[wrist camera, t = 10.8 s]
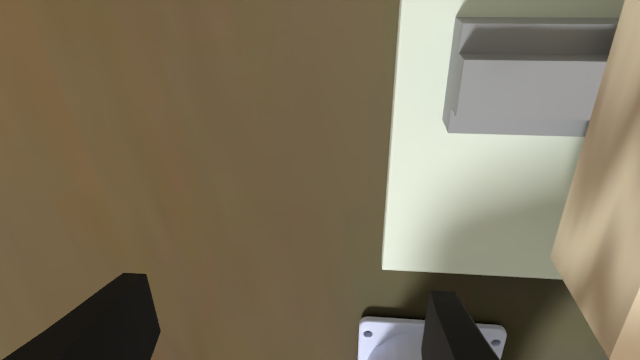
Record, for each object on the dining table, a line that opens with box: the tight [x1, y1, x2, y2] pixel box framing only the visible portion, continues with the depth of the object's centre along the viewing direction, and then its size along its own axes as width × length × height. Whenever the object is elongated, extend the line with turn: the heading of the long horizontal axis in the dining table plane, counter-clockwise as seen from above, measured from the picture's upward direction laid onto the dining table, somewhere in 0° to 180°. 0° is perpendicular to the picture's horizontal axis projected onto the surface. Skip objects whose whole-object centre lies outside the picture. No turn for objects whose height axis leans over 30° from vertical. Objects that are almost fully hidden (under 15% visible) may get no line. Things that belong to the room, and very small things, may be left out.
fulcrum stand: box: [382, 0, 625, 279], centre depth 16 cm, size 20×16×4 cm
